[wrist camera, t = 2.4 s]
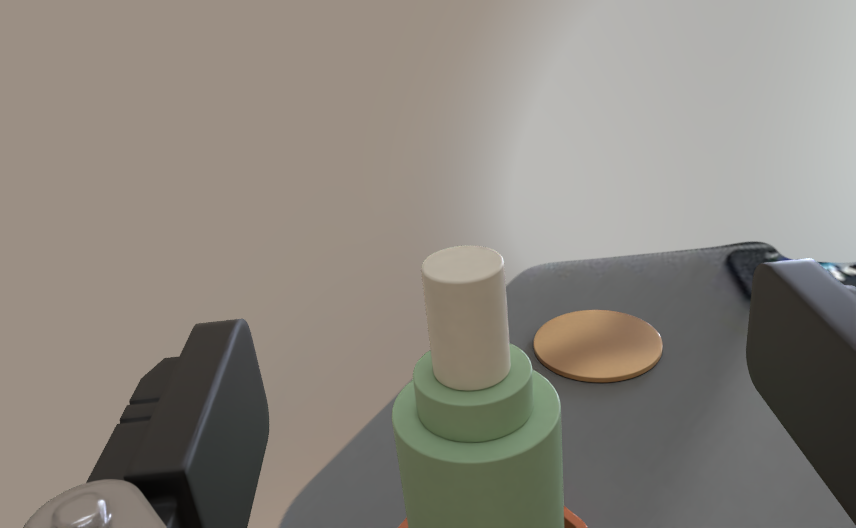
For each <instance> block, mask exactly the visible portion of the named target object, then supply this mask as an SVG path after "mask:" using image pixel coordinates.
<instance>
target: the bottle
mask: <svg viewBox="0 0 856 528" xmlns="http://www.w3.org/2000/svg"><path fill="white" fill-rule="evenodd" d="M421 272H422V281H423V289H424V297H425V305H426V315H427V323H428V332H429V340H430V349H431V350H430V351H428V352H427V353H426V354H424V355H423V356H422V357H421V358H420V359H419V361H418V362H417V364H416V366H415V368H414V371H413V380H412V381H411V382H410V383H408V384H407V385H406V386H405V387H404V388H403V389H402V391H401V392H400V393H399V395H398V396H397V398H396V400H395V403H394V406H393V410H392V423H393V429H394V436H395V442H396V449H397V456H398V462H399V469H400V475H401V482H402V488H403V495H404V502H405V508H406V515H407V521H408V528H564V501H563V468H562V434H561V405H560V400H559V396H558V394H557V392H556V390H555V388H554V387H553V386H552V385H551V383H550V382H549V381H548V380H547V379H546V378H545V377H543V376H542V375H540V374H539V373H538V372H536V371H534V370H532V365H531V362H530V360H529V358H528V356H527V355H526V354H525V353H524V352H523V351H522V350H521V349H519V348H518V347H516V346H514V345H512V344H510V343H509V331H508V315H507V299H506V284H505V268H504V260H503V258H502V256H501V255H500V254H499V253H498V252H496V251H495V250H492V249H490V248H486V247H480V246H457V247H451V248H446V249H443V250H440V251H438V252H435V253H433V254H431V255H430V256H429V257H427V258H426V259H425V260H424V262H423V264H422V267H421Z"/></svg>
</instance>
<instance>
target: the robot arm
mask: <svg viewBox="0 0 856 528" xmlns="http://www.w3.org/2000/svg"><path fill="white" fill-rule="evenodd" d="M746 358H747V366H748V370H749V374H750V377H751V380H752V382H753V384H754V386H755V388H756V389H757V391H758V392H759V394H760V395H761V396H762V398H763V399H764V400H765V402H766V403H767V405H768V406H769V407H770V409H771V410H772V411H773V413H774V414H775V415H776V417H777V418H778V420H779V421H780V422H781V424H782V425H783V426H784V428H785V429H786V430H787V432H788V433H789V435H790V436H791V437H792V439H793V440H794V441H795V443H796V444H797V446H798V447H799V448H800V450H801V451H802V452H803V454H804V455H805V456H806V458H807V459H808V461H809V462H810V463H811V465H812V466H813V467H814V469H815V470H816V471H817V473H818V474H819V476H820V477H821V478H822V480H823V481H824V482H825V484H826V485H827V487H828V488H829V489H830V491H831V492H832V493H833V495H834V496H835V497H836V499H837V500H838V502H839V503H840V504H841V506H842V507H843V508H844V510H845V511H846V513H847V514H848V515H849V517H850V518H851V519H852V521H853V522H854V523H855V525H856V287H854V286H851V285H846V286H844V285H843V284H842V283H841V282H839V281H838V280H837V279H836V278H835V277H834V276H833V275H831V274H830V273H829V272H828V271H827V270H826V269H824V268H823V267H822V266H821V265H820V264H819V263H818V262H816V261H815V260H813V259H811V258H805V259H796V260H787V261H778V262H768V263H761V264H759V265H758V266H757V268H756V269H755V272H754V276H753V282H752V293H751V303H750V314H749V324H748V335H747V346H746ZM268 435H269V412H268V404H267V399H266V394H265V390H264V386H263V382H262V378H261V374H260V369H259V365H258V361H257V357H256V352H255V349H254V344H253V340H252V336H251V332H250V329H249V326H248V324H247V322H246V321H245V320H244V319H235V320H226V321H217V322H208V323H199V324H196V325H195V326H194V328H193V329H192V331H191V333H190V336H189V338H188V340H187V342H186V344H185V346H184V348H183V350H182V353H181V355H180V357H171V358H164V359H163V360H162V361H161V362H160V363H159V364H157V365H156V366H155V367H154V368H153V369H152V370H151V371H149V372H148V373H147V374H146V375H145V376H144V377H143V378H142V379H141V380H140V382H139V384H138V386H137V388H136V390H135V391H134V393H133V395H132V397H131V399H130V405H127V407H126V408H125V410H124V412H123V414H122V416H121V418H120V424H117V425H116V427H115V429H114V431H113V433H112V435H111V437H110V439H109V441H108V443H107V444H106V446H105V448H104V450H103V452H102V454H101V456H100V458H99V460H98V461H97V463H96V465H95V467H94V469H93V471H92V473H91V475H90V476H89V478H88V480H87V482H86V483H85V484H82V485H79V486H76V487H74V488H71V489H69V490H67V491H65V492H63V493H61V494H59V495H57V496H56V497H54V498H53V499H51V500H50V501H48V502H47V503H46V504H44V505H43V506H42V507H41V508H39V509H38V510H37V511H36V512H35V513H34V514H33V515H32V516H31V517H30V519H29V520H28V521H27V523H26V524H25V525H24V527H23V528H247V526H248V522H249V517H250V513H251V509H252V504H253V500H254V496H255V492H256V487H257V484H258V479H259V475H260V471H261V466H262V462H263V458H264V454H265V449H266V445H267V441H268Z"/></svg>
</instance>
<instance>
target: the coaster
mask: <svg viewBox="0 0 856 528" xmlns="http://www.w3.org/2000/svg"><path fill="white" fill-rule="evenodd" d="M662 349H663V345H662V340H661V337H660V335H659V333H658V332H657V331H656V330H655V329H654V328H653V327H652V326H651V325H649V324H648V323H646V322H645V321H643V320H641V319H639V318H637V317H634V316H631V315H628V314H625V313H620V312H615V311H607V310H585V311H577V312H572V313H567V314H564V315H561V316H558V317H556V318H554V319H552V320H550V321H548V322H547V323H545V324H544V325H543V326H542V327H541V328H540V329H539V330H538V331H537V333H536V335H535V338H534V351H535V354H536V356H537V358H538V359H539V361H540V362H541V363H542V364H543V365H544V366H545V367H547V368H548V369H550V370H551V371H553V372H555V373H557V374H559V375H562V376H564V377H567V378H570V379H575V380H579V381H586V382H616V381H622V380H626V379H630V378H633V377H636V376H639V375H641V374H643V373H645V372H647V371H648V370H650V369H651V368H652V367H654V366H655V365H656V364H657V362H658V361H659V359H660V357H661V355H662Z"/></svg>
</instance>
